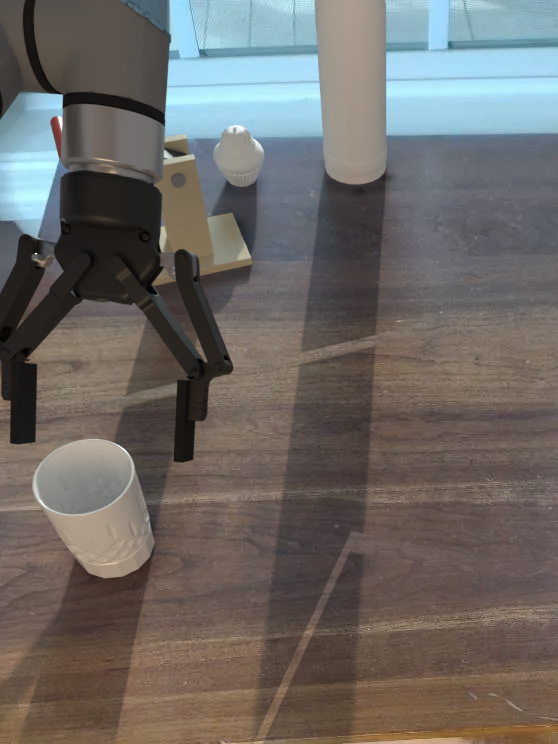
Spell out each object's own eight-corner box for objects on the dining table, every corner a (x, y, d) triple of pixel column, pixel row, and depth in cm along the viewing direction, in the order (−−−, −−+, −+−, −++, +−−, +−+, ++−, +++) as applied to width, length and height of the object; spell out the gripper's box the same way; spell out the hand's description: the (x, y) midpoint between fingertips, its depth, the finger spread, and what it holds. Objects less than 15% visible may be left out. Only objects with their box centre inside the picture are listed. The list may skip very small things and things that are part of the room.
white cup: (53, 570, 75) (11, 500, 67) (99, 501, 79) (66, 428, 71) (134, 595, 74) (102, 528, 65) (177, 524, 78) (152, 453, 70)
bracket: (147, 289, 96) (117, 185, 85) (133, 241, 101) (103, 137, 90) (252, 266, 98) (236, 162, 88) (233, 220, 103) (216, 117, 93)
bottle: (387, 151, 112) (387, -128, 87) (387, 187, 107) (387, -95, 83) (325, 150, 112) (307, -129, 87) (323, 186, 107) (303, -97, 82)
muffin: (258, 199, 106) (250, 145, 100) (210, 191, 106) (200, 137, 101) (274, 170, 109) (267, 116, 103) (228, 163, 110) (219, 109, 104)
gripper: (281, 203, 70) (262, 464, 74) (-15, 176, 71) (-18, 433, 75) (258, 182, 62) (238, 473, 66) (-72, 152, 64) (-71, 438, 68)
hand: (102, 452), depth 71 cm, fingers open, 13 cm apart
